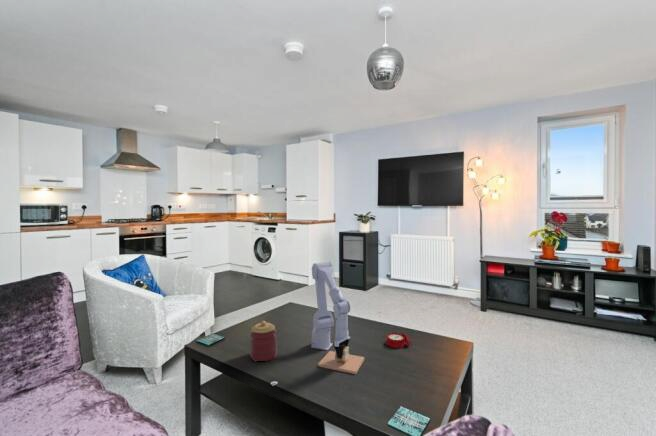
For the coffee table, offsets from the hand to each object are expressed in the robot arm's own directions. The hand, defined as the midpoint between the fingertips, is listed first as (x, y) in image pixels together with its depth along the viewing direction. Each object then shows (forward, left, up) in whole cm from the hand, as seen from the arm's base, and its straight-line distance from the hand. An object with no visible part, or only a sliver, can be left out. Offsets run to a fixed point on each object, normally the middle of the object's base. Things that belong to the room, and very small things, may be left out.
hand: (341, 355), depth 146 cm
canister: (-38, -8, -4) cm, 39 cm away
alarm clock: (+21, +31, -4) cm, 38 cm away
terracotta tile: (0, 0, -4) cm, 4 cm away
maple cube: (0, 0, -2) cm, 2 cm away
